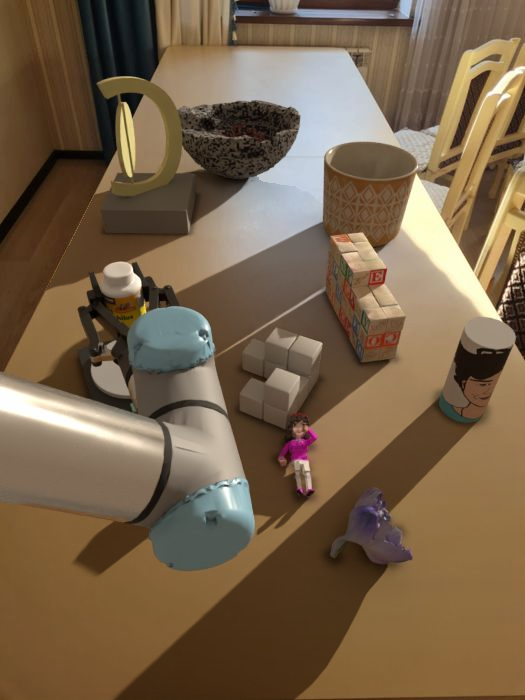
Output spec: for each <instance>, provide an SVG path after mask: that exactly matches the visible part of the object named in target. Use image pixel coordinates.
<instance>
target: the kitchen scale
mask: <svg viewBox="0 0 525 700" xmlns="http://www.w3.org/2000/svg"><path fill="white" fill-rule="evenodd" d="M102 342H103V343H104V345H106V346H107V348H108V349H109V350H112V348H113V346H114V345H115V343H116V340H115V339H114V338H113V339H110V340H105V341H102ZM88 349H89V345H87V346H83V347H80V348H76V352H77V355H78V358H79V362H80V365H81V368H82V373H83V376H84V379H85V382H86V387H87V389H88V393H89V397H90V400H94V401H97V402H100V403H103V404H106V405H110V406H113V407H116V408H119V409H122V410H125V411H129V412H132V413H135V414H137V413H136V410H135V408H134V405H133V402H132V399H131V397H130V394H129V390H128V388H127V386H126V383H125V380H124V377H123V374H122V372H121V369H120V367H119V366H118V365H117V364H115V363H114V362H113V361H102V365H101V366H99V367H94V366H93V365H92V362H91V358H90V355H89V351H88Z"/></svg>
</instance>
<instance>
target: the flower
mask: <svg viewBox="0 0 525 700" xmlns="http://www.w3.org/2000/svg"><path fill="white" fill-rule="evenodd" d="M383 496H384V492H382V491H381V488H377V486H373V487H371V488H369V489H366V490H365V491H364V492H363V493H362V494H361V496H360V497H359V499H358V500H357V501H356V503H355V506H354V507H353V508H352V510H351V511H350V512H349V515H348V524H347V530H346V532H345V535H341V536H338V537H337V538H336V539H335V540H334V541H333V542H332V544H331V548H330V552H329V556H330V557H331V558H333V559H337V557H338V555H339V553H340V552H341V551H342V550H344V549H345V548H346V546H347V545H348V544H349V543H351V542H352V543H355V544H357V545H360V546H361V547H362V549H363V550H364V552H365V555H366V556H367V558H368V559H369V560H370V561H371V562H372V563H374V564H376V565H377V564H378V565H387V564H390V563H395V564H396V563H397V564H400V563H405V562H409V561H412V560H413V559H414V557H413V554H412V550H411V547H408V548H407V549H406V547H405V546H402V540H403V530H400V529H399V528H398V526H396V525H394V526H393V525H392V524H389V523H390V522H391V521H392V519H393V516H392V515H390V514H389V511H388V510H387V508H386V505H387V501H386V500H382V498H383Z"/></svg>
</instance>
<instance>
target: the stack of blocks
mask: <svg viewBox="0 0 525 700" xmlns="http://www.w3.org/2000/svg"><path fill="white" fill-rule="evenodd" d="M387 271H388V267H387V266H386V264H385V263H384V261H383V260H382V259H381V258H380V257H379V255H378V254H377V252H376V250H375V249H374V247H372V246H371V245H370V243H369V242H368V240H367V238H366V237H365V235H364V234H363V233H353V234H347V235H346V234H343V235H335V236H330V235H329V245H328V255H327V270H326V278H325V293H326V295H327V297H328V299H329V302H330V303H331V306H332V308H333V310H334V313H335V314H336V317H337V318H338V319H339V321H340V323H341V325H342V327H343V329H344V330H345V333H346V335H347V336H348V338H349V341H350V343H351V346H352V347H353V350H354V351H355V354H356V355H357V357H358V360H359V361H360V363H369V362H374V361H384V360H391V359H394V358H396V355H397V351H398V345H399V344H400V340H401V336H402V335H401V334H402V331H403V329H404V325H405V321H406V316H407V315H406V313H405V312H404V310H403V309H402V308H401V306H400V304H399V303H398V302H397V300H396V298H395V297H394V295H393V294H392V292H391V291H390V289H389V288H388V286H387V285H386V284H385V282H386V277H387Z"/></svg>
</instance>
